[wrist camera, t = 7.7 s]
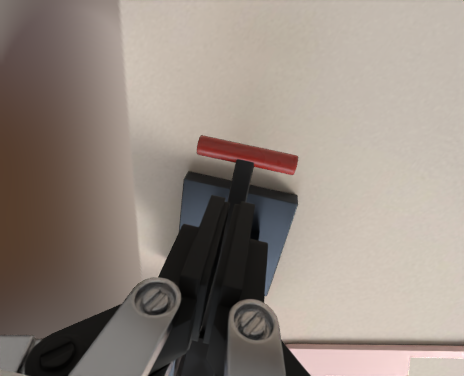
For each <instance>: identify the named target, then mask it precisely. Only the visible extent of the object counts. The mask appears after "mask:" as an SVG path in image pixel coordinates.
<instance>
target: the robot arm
mask: <svg viewBox="0 0 464 376" xmlns="http://www.w3.org/2000/svg"><path fill="white" fill-rule="evenodd" d="M225 200H226V198H224V197H220V196H215V195H211V197H210V200H209V202H208V205H207V207H206V210H205V213H204V215H203V218H202V220H201V223H200V226H199V227H196V226H192V225H187V224H183V225H182V227H181V229H180V231H179V233H178V236H177V238H176V240H175V242H174V244H173V246H172V248H171V251H170V253H169V255H168V257H167V259H166V261H165V264H164V266H163V268H162V270H161V272H160V274H159V276H158V278H150V279H146V280H144V281H142V282H140V283H138V284H137V285H136V287H134V288H133V290H132V291H131V292H130V294H129V295H128V296H127V298H126V299H125V301H124V302H123V303H122V304H121V305H118V306H116V307H113V308H111V309H109V310H106V311H104V312H102V313H99V314H97V315H95V316H92V317H90V318H88V319H85V320H83V321H81V322H78V323H76V324H73V325H71V326H69V327H66V328H64V329H62V330H59V331H57V332H55V333H52V334H51V335H49V336H47V337H45V338H43V339H35V336H34V335H0V376H168V375H169V373H170V371H171V368H172V366H173V363H174V360H176V359H178V358H179V357H181V356H183V355H184V354H186V352H187V350H189V348H190V345H191V341H192V340H194V341H198V339H199V335H200V331H201V328H202V324H203V320H204V316H205V312H206V308H207V304H208V301H209V297H210V293H211V289H212V285H213V281H214V278H215V274H216V270H217V266H218V262H219V258H220V253H221V248H222V243H223V238H224V233H225V228H226V223H227V218H228V213H229V207H230V203H229V202H225ZM254 209H255V204H251V203H247V202H242V201H241V204H240V205H238V204H235V205H234V209H233V212H232V216H231V220H230V224H229V228H228V232H227V236H226V240H225V244H224V248H223V252H222V256H221V259H220V263H219V267H218V271H217V275H216V279H215V284H214V288H213V293H212V298H211V304H210V309H209V314H208V319H207V324H206V329H205V334H204V339H203V343H206V344H209V347H208V352H207V357H206V359H207V361H208V362H209V364H210V366H211V367H212V369H213V371H214V376H311V375H310V374H309V373H308V372H307V370H306V369H305V368H304V367H303V366H302V364H301V363H300V362H299V361H298V360H297V358H296V357H295V356H294V355H293V353H292V352H291V351H290V350H289V349H288V347H287V346H286V345H285V344H284V343H283V341H282V340H281V335H280V328H279V322H278V319H277V316H276V314H275V313H274V311H273V310H272V309H271V308H270V307H269V306H268V305H267V304H265V303H264V296H265V282H266V269H267V255H268V243H266V242H262V241H258V240H253V239H250V235H251V228H252V222H253V215H254Z"/></svg>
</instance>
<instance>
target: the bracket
mask: <svg viewBox="0 0 464 376" xmlns="http://www.w3.org/2000/svg"><path fill="white" fill-rule="evenodd" d="M231 183H232V181H230V180H225V179H221V178H216V177H212V176H207V175H203V174H198V173H194V172H188V173H187V175H186V176H185V178H184V183H183V193H182V204H181V215H180V225H179V231H180V229H181V227H182V225H183V224H187V225H192V226H196V227H199V226H200V223H201V220H202V218H203V215H204V213H205V210H206V207H207V205H208V202H209V200H210V197H211V195H215V196H220V197H224V198H226V200H225V202H227V201H228V197H229V192H230V187H231ZM246 202H247V203H251V204H255V209H254V215H253V222H252V228H251V235H250V239H253V240H258V241H262V242H266V243H268V255H267V269H266V282H265V296H267V294H268V291H269V288H270V285H271V282H272V279H273V276H274V273H275V271H276V268H277V265H278V262H279V259H280V256H281V253H282V250H283V247H284V244H285V241H286V238H287V235H288V232H289V229H290V226H291V224H292V221H293V218H294V215H295V212H296V209H297V206H298V197H297V195H294V194H289V193H285V192H280V191H275V190H271V189H266V188H262V187H257V186H253V185H250V186H249V190H248V195H247V199H246ZM181 357H182V356H181ZM181 357H179V358H178V359H176V360H174V363H173V366H172V368H171V371H170V373H169V375H168V376H176V374H177V370H178V367H179V363H180V360H181Z"/></svg>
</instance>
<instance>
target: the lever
mask: <svg viewBox="0 0 464 376" xmlns="http://www.w3.org/2000/svg"><path fill="white" fill-rule="evenodd" d="M197 154H198V155H202V156H207V157H212V158H216V159H221V160H225V161H230V162H235V163H236V164H235V169H234V173H233V178H232V183H231V187H230V192H229V197H228V201H227V202H229V203H230V207H229V213H228V218H227V223H226V228H225V233H224V238H223V243H222V248H221V253H220V258H219V262H218V266H217V270H216V274H215V278H214V281H213V285H212V289H211V293H210V297H209V301H208V304H207V308H206V312H205V316H204V320H203V324H202V328H201V331H200V335H199V339H198V341H194V340H192V341H191V345H190V348H189V350H187V352H186V354H185V357H184V362H183V367H182V372H181V376H214V371H213V369H212V367H211V366H210V364H209V362H208V361H207V359H206V357H207V352H208V347H209V344H206V343H203V339H204V334H205V329H206V324H207V319H208V314H209V309H210V304H211V298H212V293H213V288H214V284H215V279H216V275H217V271H218V267H219V263H220V259H221V256H222V252H223V248H224V244H225V240H226V236H227V232H228V228H229V224H230V220H231V216H232V212H233V209H234V205H235V204H238V205H240V204H241V201H242V202H246V199H247V195H248V190H249V186H250V181H251V177H252V172H253V168H254V167H258V168H262V169H267V170H271V171H276V172H281V173H285V174H290V175H294V173H295V170H296V167H297V162H298V156H297V155H292V154H287V153H283V152H278V151H273V150H269V149H264V148H259V147H255V146H250V145H245V144H241V143H236V142H231V141H227V140H222V139H217V138H213V137H208V136H203V135H201V136H200V138H199V141H198V145H197Z"/></svg>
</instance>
